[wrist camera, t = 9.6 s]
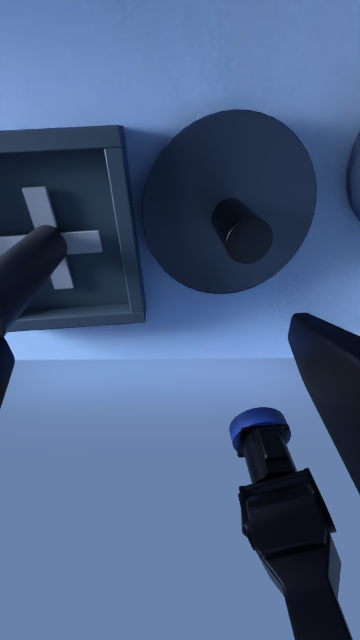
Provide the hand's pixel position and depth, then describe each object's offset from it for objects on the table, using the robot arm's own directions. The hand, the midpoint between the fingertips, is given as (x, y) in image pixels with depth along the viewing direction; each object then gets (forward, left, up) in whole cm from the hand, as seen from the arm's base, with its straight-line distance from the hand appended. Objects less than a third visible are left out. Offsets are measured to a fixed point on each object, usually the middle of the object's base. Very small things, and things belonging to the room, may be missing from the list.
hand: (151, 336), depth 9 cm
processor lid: (+1, -5, -12) cm, 13 cm away
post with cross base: (0, +7, -12) cm, 14 cm away
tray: (0, +7, -13) cm, 15 cm away
